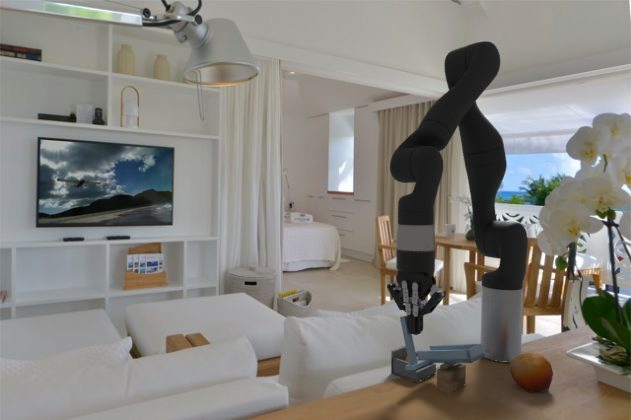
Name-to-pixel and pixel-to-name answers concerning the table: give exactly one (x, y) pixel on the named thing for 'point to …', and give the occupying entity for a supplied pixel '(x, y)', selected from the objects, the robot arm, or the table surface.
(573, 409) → the table surface
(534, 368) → the fruit
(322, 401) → the table surface
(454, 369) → the fulcrum
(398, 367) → the tray
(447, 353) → the lever
